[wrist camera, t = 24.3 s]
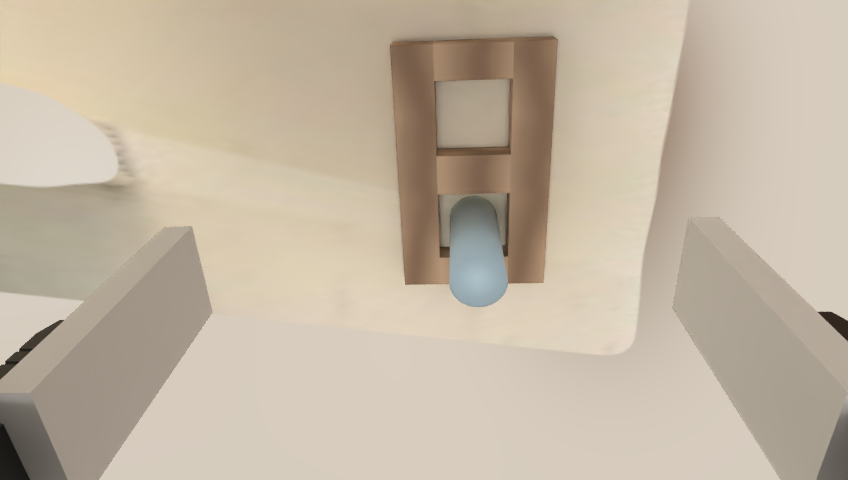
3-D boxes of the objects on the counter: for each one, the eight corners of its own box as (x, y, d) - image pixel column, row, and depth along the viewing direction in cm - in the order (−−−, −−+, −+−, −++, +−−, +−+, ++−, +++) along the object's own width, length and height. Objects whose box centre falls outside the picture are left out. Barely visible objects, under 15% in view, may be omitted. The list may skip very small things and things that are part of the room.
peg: (450, 239, 50) (450, 307, 40) (449, 197, 49) (448, 257, 39) (496, 238, 50) (507, 306, 40) (496, 195, 48) (508, 256, 38)
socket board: (406, 273, 52) (405, 284, 50) (392, 42, 43) (390, 45, 41) (540, 271, 51) (543, 282, 50) (553, 36, 43) (557, 39, 41)
